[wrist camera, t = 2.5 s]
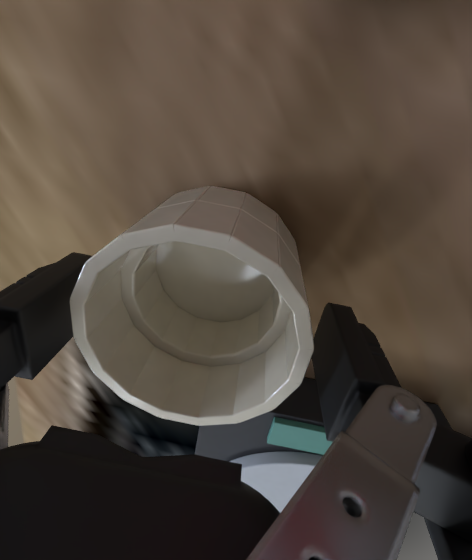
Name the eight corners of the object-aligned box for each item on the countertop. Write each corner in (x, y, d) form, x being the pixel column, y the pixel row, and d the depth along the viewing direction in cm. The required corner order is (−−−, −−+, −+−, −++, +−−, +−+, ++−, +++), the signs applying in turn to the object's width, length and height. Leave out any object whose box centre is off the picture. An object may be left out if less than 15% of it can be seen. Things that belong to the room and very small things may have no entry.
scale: (213, 358, 15) (201, 410, 12) (438, 404, 15) (474, 466, 12) (188, 500, 21) (176, 555, 18) (347, 533, 21) (358, 593, 18)
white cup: (143, 168, 11) (57, 200, 7) (318, 202, 11) (349, 258, 7) (140, 313, 14) (79, 402, 10) (277, 341, 14) (279, 443, 10)
